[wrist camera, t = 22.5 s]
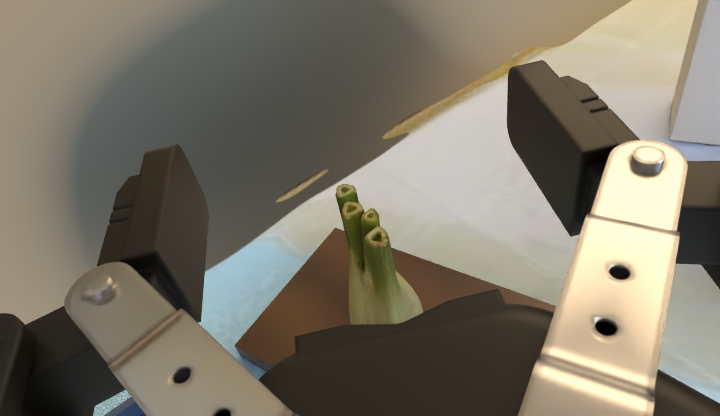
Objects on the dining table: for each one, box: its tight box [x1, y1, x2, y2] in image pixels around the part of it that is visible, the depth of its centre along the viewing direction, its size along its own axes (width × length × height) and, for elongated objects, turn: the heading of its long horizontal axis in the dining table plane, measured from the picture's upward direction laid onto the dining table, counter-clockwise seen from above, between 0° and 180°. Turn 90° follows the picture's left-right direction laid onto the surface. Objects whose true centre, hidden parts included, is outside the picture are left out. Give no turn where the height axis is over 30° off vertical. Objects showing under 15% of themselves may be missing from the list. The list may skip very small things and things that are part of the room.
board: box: [235, 228, 556, 371], centre depth 38 cm, size 13×20×2 cm, turn 57°
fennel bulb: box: [336, 184, 423, 325], centre depth 34 cm, size 6×5×12 cm
